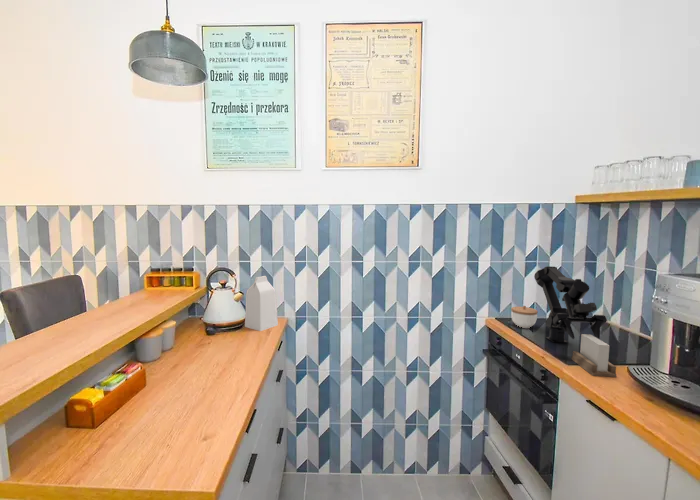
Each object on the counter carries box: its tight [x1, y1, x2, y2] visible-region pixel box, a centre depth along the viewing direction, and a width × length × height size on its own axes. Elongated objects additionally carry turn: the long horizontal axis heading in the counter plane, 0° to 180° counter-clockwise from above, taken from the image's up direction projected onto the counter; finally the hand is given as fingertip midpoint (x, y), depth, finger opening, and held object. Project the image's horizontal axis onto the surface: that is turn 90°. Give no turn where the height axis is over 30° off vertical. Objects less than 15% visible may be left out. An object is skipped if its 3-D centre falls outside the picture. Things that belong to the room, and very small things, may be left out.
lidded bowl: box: [510, 305, 539, 329], centre depth 185 cm, size 13×13×11 cm
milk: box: [244, 275, 279, 332], centre depth 179 cm, size 12×12×26 cm
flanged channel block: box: [571, 350, 617, 378], centre depth 133 cm, size 15×8×4 cm, turn 173°
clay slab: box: [579, 333, 610, 372], centre depth 133 cm, size 12×4×10 cm, turn 173°
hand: (585, 339), depth 138 cm, fingers open, 9 cm apart
